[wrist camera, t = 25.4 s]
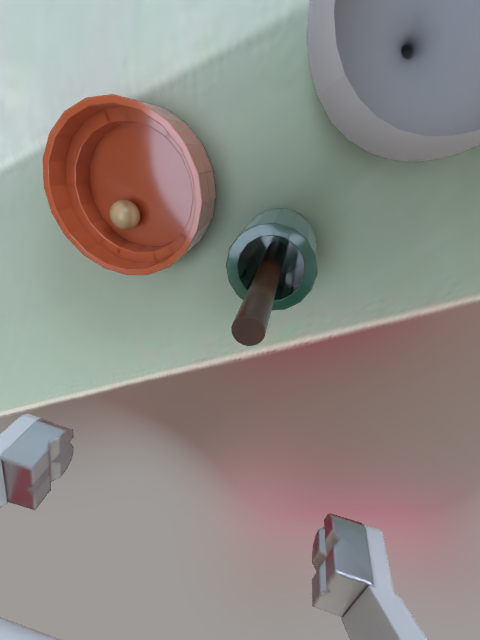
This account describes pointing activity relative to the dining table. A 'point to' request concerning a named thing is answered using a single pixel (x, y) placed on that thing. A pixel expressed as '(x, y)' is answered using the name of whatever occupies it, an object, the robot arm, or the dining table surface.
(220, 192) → the dining table surface
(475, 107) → the chalice
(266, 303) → the stick
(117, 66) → the dining table surface
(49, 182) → the bowl
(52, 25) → the dining table surface
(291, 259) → the utensil pot
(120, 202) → the bead
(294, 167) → the dining table surface
